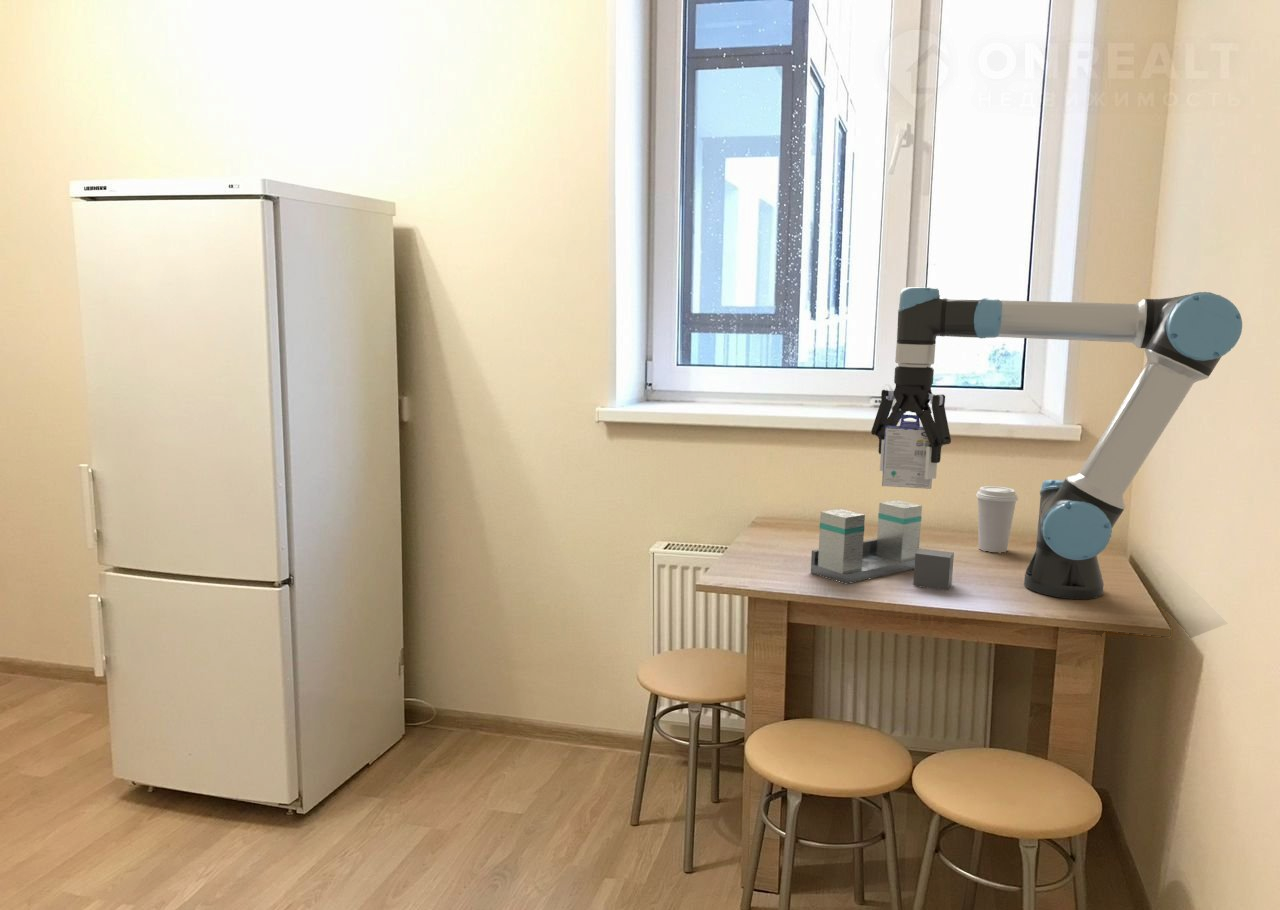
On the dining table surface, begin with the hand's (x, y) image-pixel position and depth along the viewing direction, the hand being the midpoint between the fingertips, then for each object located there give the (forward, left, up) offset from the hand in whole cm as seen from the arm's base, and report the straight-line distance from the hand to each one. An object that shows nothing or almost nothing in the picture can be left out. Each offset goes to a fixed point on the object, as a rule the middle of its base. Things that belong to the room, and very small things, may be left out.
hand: (907, 474), depth 194 cm
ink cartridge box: (0, 0, -3) cm, 3 cm away
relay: (-2, -8, -24) cm, 25 cm away
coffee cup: (+9, -46, -24) cm, 52 cm away
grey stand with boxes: (+13, -5, -24) cm, 27 cm away
